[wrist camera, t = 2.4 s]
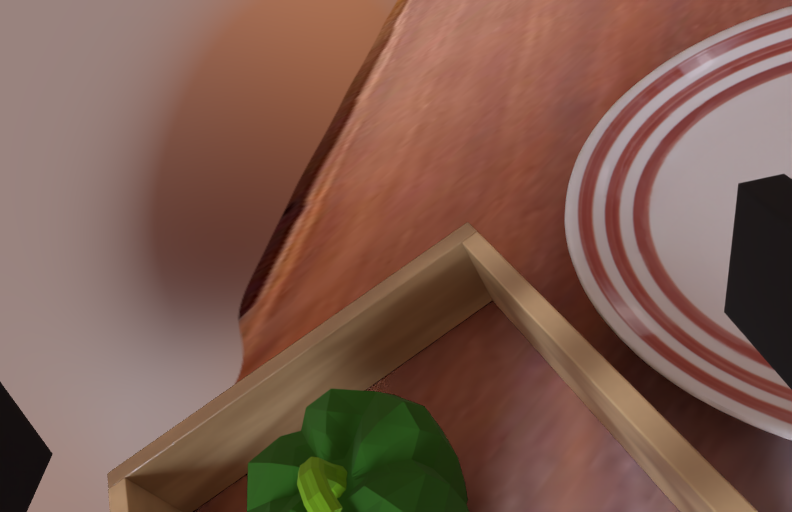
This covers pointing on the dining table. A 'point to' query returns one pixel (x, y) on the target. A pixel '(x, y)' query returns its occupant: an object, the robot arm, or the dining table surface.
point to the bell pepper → (359, 460)
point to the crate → (385, 351)
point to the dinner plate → (687, 211)
